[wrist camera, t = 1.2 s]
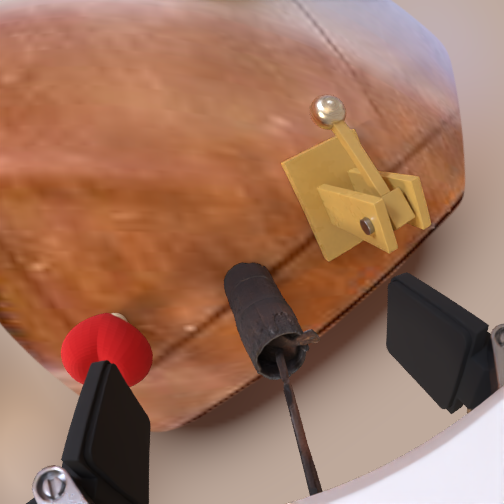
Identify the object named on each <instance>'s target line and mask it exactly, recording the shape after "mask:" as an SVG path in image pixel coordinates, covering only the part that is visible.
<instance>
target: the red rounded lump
mask: <svg viewBox="0 0 504 504" xmlns="http://www.w3.org/2000/svg"><path fill="white" fill-rule="evenodd" d="M61 357H62V362H63V364H64V367H65V369H66V370H67V372H68V373H69V374H70V375H71V377H73V378H74V379H75V380H76V381H78V382H80V383H81V384H84V382H85V379H86V376H87V373H88V370H89V368H90V365H91V363H93V362H99V361H104V360H108V361H109V362H110V363H111V364H112V363H114V364H115V365H116V366H117V367H118V369H119V371H120V373H121V374H122V376H123V378H124V379H125V381H126V383H127V384H128V386H129V387H131V386H134V385H135V384H137V383H139V382H140V381H141V380H143V378H144V377H145V376H146V375H147V374H148V372H149V370H150V368H151V365H152V357H153V354H152V350H151V347H150V344H149V343H148V341H147V340H146V338H145V337H144V336H143V335H142V333H141V332H140V331H139V330H137V329H136V328H135V327H134V326H133V325H131V324H130V323H128V322H127V320H126V318H125V317H124V316H123V315H121V314H118V313H112V314H109V313H103V314H99V315H96V316H93V317H90V318H88V319H86V320H84V321H82V322H80V323H79V324H78V325H76V326H75V327H74V328H73V329H72V330H71V331H70V332H69V333H68V334H67V336H66V338H65V340H64V342H63V344H62V349H61Z"/></svg>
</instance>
